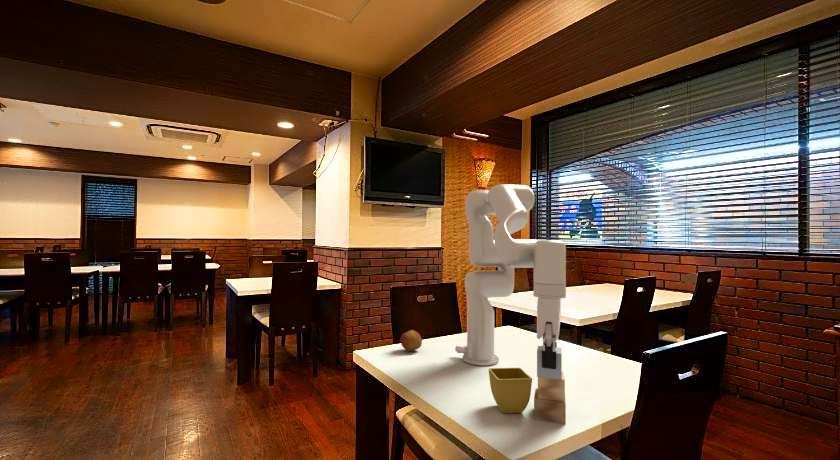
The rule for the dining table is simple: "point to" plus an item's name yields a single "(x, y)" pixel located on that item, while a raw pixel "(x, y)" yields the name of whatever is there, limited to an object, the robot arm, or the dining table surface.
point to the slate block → (545, 371)
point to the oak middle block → (551, 389)
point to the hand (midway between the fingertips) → (549, 362)
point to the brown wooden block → (549, 410)
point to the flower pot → (510, 388)
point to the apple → (411, 340)
